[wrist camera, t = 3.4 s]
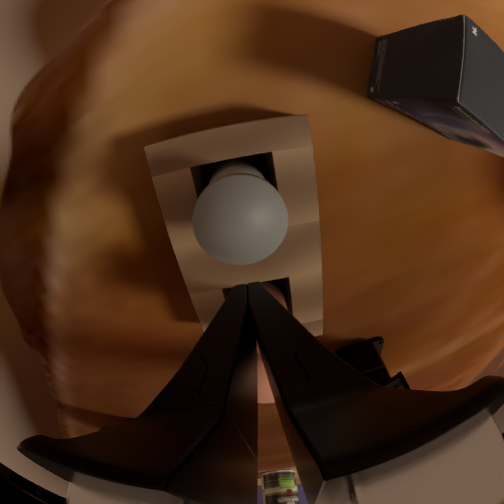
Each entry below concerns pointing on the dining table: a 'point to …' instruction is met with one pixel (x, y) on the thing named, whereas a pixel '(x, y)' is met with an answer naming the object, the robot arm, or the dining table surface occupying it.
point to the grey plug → (239, 214)
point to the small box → (444, 80)
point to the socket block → (286, 183)
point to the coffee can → (279, 487)
